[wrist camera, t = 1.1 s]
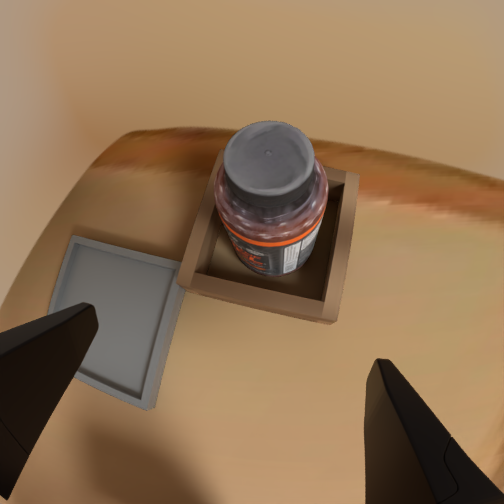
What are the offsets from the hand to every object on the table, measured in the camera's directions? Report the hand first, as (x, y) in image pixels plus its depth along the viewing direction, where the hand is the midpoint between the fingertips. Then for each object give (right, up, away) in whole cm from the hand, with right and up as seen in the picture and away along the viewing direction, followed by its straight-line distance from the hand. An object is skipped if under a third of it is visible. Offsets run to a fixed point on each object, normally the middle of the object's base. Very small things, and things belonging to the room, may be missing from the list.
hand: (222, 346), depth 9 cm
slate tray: (-10, -3, +14) cm, 18 cm away
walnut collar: (+3, +4, +15) cm, 15 cm away
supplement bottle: (+3, +4, +15) cm, 16 cm away
